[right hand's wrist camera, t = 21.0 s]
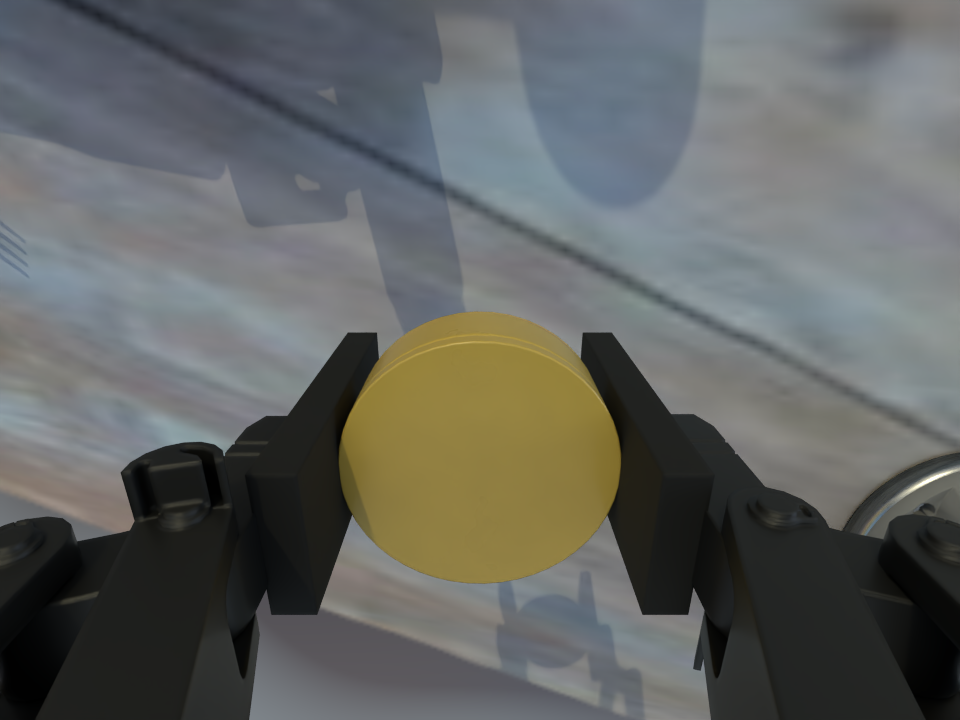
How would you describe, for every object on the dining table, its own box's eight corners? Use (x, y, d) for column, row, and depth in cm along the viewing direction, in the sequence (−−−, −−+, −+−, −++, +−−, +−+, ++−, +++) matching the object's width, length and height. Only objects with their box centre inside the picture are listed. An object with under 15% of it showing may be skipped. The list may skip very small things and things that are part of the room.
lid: (400, 273, 11) (384, 297, 9) (642, 360, 11) (672, 399, 10) (332, 486, 12) (307, 541, 11) (543, 550, 13) (554, 612, 11)
